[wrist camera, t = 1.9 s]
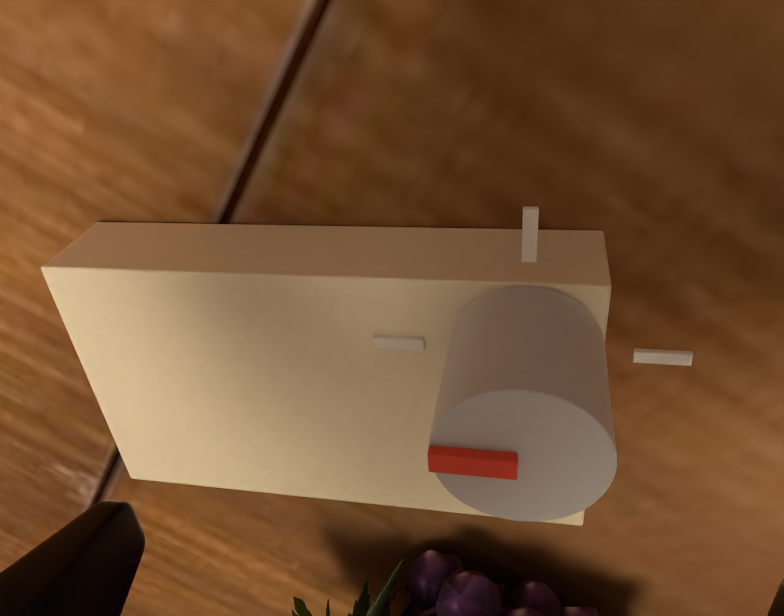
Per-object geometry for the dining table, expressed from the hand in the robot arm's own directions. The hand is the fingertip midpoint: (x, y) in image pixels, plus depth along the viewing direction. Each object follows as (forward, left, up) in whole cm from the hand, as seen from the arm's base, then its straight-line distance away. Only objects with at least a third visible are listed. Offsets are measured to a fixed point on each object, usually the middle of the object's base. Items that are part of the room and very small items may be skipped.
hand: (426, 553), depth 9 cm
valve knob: (-1, +3, -9) cm, 9 cm away
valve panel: (+4, +4, -12) cm, 13 cm away
